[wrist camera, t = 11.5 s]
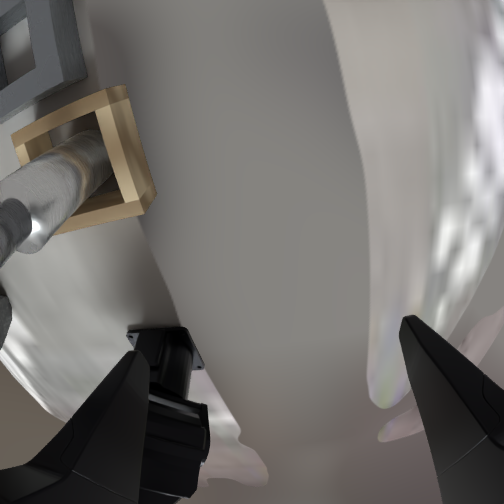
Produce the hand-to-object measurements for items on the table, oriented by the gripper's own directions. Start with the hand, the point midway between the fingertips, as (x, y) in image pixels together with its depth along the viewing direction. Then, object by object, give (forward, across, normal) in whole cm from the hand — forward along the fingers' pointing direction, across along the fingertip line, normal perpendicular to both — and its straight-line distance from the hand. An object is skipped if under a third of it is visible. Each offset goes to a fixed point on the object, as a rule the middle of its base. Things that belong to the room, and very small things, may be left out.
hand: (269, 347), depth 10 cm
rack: (+13, +11, -5) cm, 18 cm away
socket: (+13, +14, -15) cm, 24 cm away
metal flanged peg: (+13, +11, -5) cm, 18 cm away
